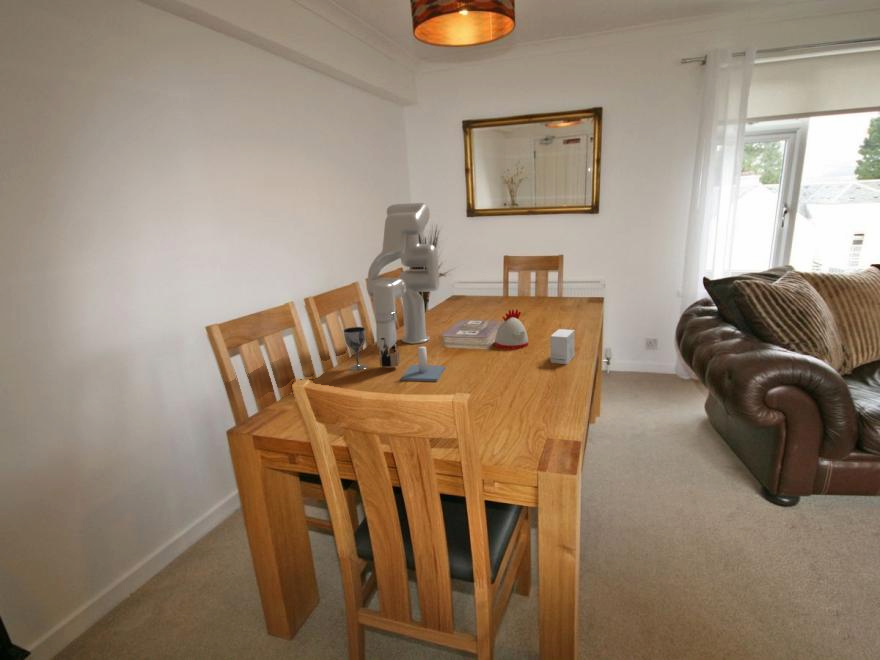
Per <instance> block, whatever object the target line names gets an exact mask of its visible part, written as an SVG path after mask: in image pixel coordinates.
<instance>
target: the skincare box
mask: <svg viewBox="0 0 880 660" xmlns="http://www.w3.org/2000/svg"><path fill="white" fill-rule="evenodd" d="M575 331H576V330H575V329H565V328H559V329H557V330H556V331H554V333H553V334H551V335H550V363H552V364H562V365H568V364H569V362H571V361H572V360H573V358H574V357H575V355H576V354H575Z"/></svg>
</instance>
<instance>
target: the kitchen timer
mask: <svg viewBox="0 0 880 660" xmlns="http://www.w3.org/2000/svg"><path fill="white" fill-rule="evenodd" d="M521 313H522V312H521V311H519V310H518V309H517V308H516V309H515V310H514V309H509V310H508V313H507V312H505V316H504V315H502V318H503V321H502V322H501V323H500V325H499V326H498V328H497V330H496V334H495V338H494V345H495V347H497V348H499V349H503V348H505V349H504V350H518V349H519V348H521V349H524V347H525V348H526V347H528V346H529V337H528V333H527V330H526V328H525V326H524V324H523V323H522V321H521V320H520V319H519V317H520V316H521ZM519 350H520V349H519Z"/></svg>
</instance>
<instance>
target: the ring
mask: <svg viewBox="0 0 880 660" xmlns="http://www.w3.org/2000/svg"><path fill="white" fill-rule="evenodd" d="M385 351H386V352H387V350H385ZM378 355H379V358H378V359H379V366H380V367H382V368H385V369H386V368H389V369H390V368H395V367H397V366H399V365H400V364H401V359H400V349H397V348H390V349H389V356H390V360H391V366H390V367H388V366H382V358H381V353H380V351H379V352H378Z"/></svg>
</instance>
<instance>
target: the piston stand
mask: <svg viewBox="0 0 880 660" xmlns="http://www.w3.org/2000/svg"><path fill="white" fill-rule="evenodd" d="M417 356H418V365H417V364H410V366H409V367H408V368H407V369H406V371H405V372H404V373H403V374H402V376H401V377H400V381H404V380H407V382H433V381H438V382H439V380H440V379H441V376H442V375H441V374H443V373H444V371H445V369H446V366H445V365H428V355H427V347H426V346H419V347H417Z"/></svg>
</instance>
